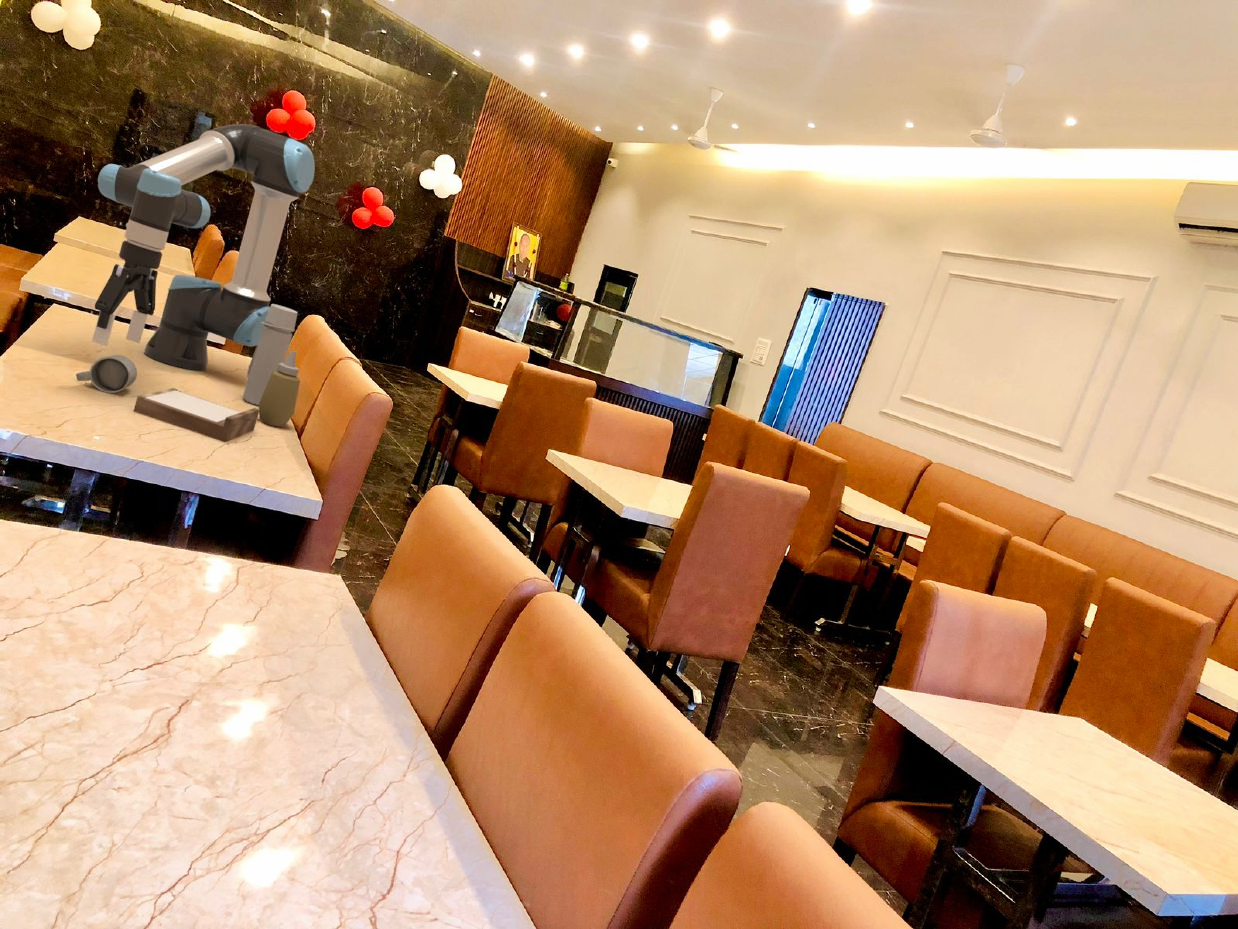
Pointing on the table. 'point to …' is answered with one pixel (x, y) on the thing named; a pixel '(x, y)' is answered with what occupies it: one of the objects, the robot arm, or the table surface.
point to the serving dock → (198, 419)
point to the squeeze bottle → (280, 394)
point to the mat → (193, 405)
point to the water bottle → (269, 350)
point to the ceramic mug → (110, 374)
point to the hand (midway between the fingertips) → (116, 342)
